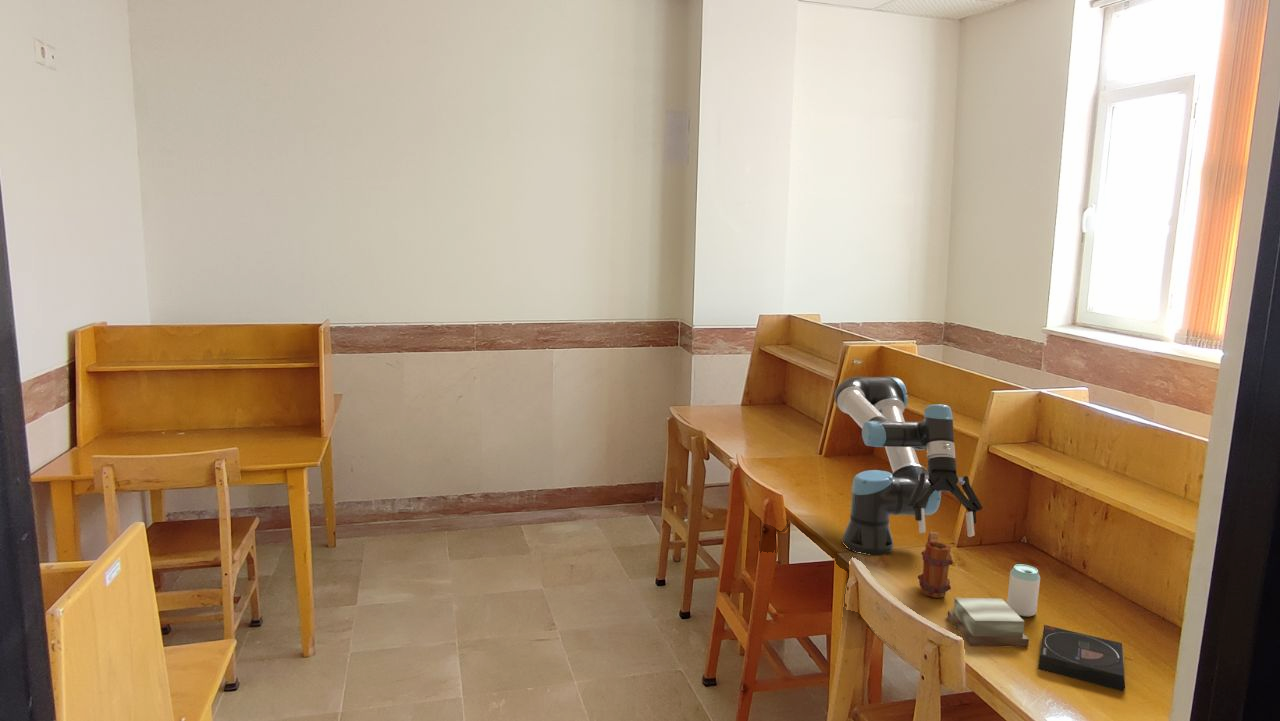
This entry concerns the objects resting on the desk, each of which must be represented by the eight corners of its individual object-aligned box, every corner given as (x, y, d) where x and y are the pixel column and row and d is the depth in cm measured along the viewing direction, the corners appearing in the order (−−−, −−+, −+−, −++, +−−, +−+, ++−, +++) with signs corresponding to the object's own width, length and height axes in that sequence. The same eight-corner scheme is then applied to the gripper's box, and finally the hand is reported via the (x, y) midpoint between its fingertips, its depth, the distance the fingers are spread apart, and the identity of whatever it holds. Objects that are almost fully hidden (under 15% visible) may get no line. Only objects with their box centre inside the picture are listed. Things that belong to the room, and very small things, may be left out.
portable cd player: (1124, 693, 178) (1126, 676, 178) (1037, 671, 186) (1039, 654, 186) (1122, 659, 193) (1125, 643, 192) (1042, 640, 201) (1044, 624, 200)
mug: (951, 603, 217) (957, 550, 215) (919, 600, 219) (924, 546, 216) (943, 580, 232) (948, 529, 229) (913, 577, 233) (917, 526, 231)
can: (1041, 614, 213) (1046, 570, 211) (1025, 620, 209) (1030, 576, 207) (1016, 603, 219) (1021, 560, 217) (1000, 609, 215) (1005, 566, 213)
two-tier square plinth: (947, 617, 210) (949, 595, 209) (1001, 618, 210) (1003, 596, 209) (970, 645, 196) (972, 622, 195) (1028, 646, 196) (1030, 623, 195)
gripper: (903, 452, 228) (907, 529, 221) (990, 458, 229) (997, 535, 222) (893, 458, 235) (897, 533, 228) (978, 464, 236) (984, 539, 229)
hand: (946, 534), depth 225 cm, fingers open, 13 cm apart
